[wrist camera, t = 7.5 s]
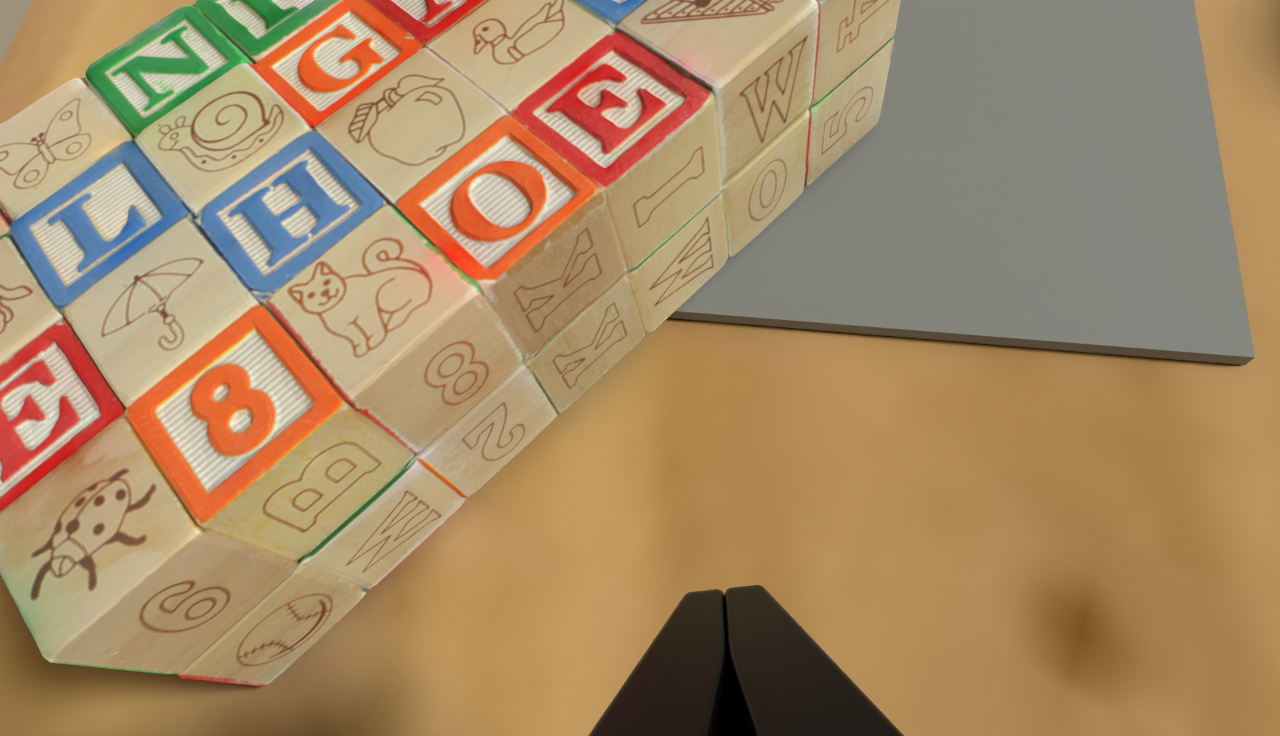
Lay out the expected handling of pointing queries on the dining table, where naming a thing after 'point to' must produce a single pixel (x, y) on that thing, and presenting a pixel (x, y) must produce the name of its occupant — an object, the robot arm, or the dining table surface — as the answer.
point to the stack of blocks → (358, 281)
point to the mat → (1017, 194)
